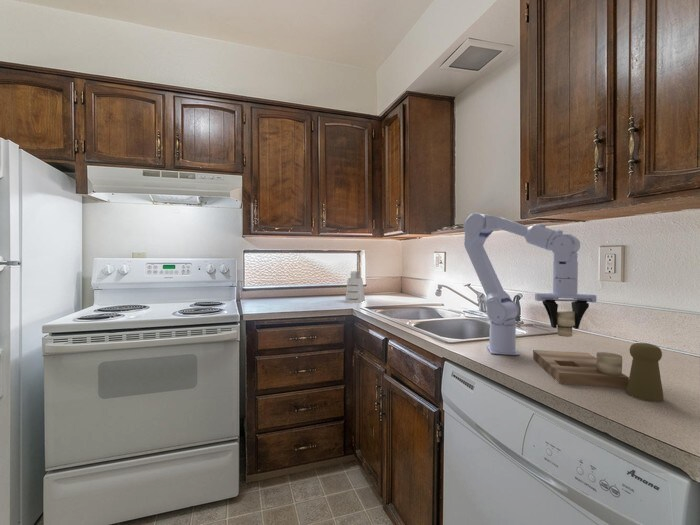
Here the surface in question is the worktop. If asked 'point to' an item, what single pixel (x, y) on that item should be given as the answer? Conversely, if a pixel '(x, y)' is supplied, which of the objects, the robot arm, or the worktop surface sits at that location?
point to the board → (583, 368)
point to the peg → (565, 322)
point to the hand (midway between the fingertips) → (564, 327)
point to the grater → (354, 289)
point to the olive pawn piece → (645, 373)
